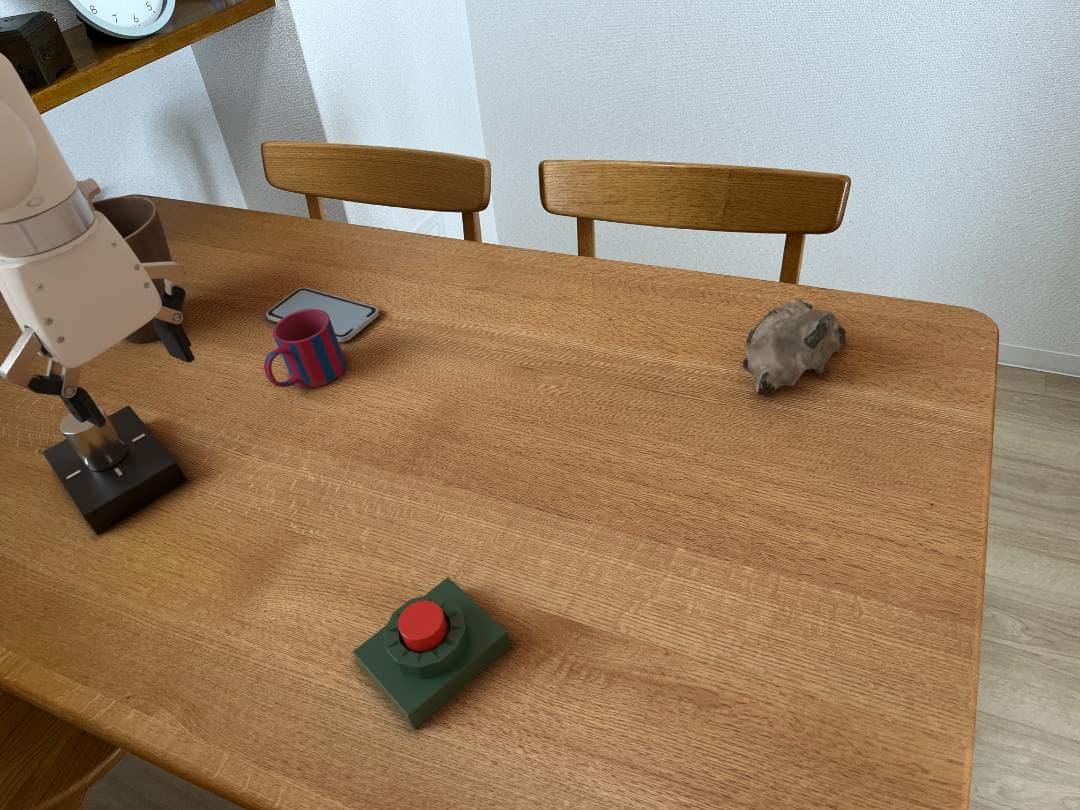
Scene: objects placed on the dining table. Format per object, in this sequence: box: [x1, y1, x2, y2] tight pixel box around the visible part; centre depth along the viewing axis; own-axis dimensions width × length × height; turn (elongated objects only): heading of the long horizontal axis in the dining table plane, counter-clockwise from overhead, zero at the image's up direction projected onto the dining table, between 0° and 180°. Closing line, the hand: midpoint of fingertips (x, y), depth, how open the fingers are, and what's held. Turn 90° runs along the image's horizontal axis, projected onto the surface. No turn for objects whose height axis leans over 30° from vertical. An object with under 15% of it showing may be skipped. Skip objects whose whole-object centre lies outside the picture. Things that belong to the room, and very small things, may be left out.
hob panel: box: [41, 404, 188, 536], centre depth 88 cm, size 14×10×3 cm
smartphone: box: [265, 287, 380, 343], centre depth 107 cm, size 7×1×15 cm
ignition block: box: [352, 576, 512, 731], centre depth 66 cm, size 10×8×4 cm
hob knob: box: [59, 404, 128, 471], centre depth 85 cm, size 4×4×6 cm
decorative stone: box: [741, 298, 847, 397], centre depth 85 cm, size 16×9×10 cm, turn 149°
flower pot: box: [91, 195, 173, 344], centre depth 106 cm, size 15×15×16 cm
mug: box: [263, 309, 347, 388], centre depth 96 cm, size 7×10×7 cm
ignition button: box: [398, 601, 447, 652], centre depth 64 cm, size 4×4×2 cm
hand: (140, 388), depth 74 cm, fingers open, 9 cm apart
